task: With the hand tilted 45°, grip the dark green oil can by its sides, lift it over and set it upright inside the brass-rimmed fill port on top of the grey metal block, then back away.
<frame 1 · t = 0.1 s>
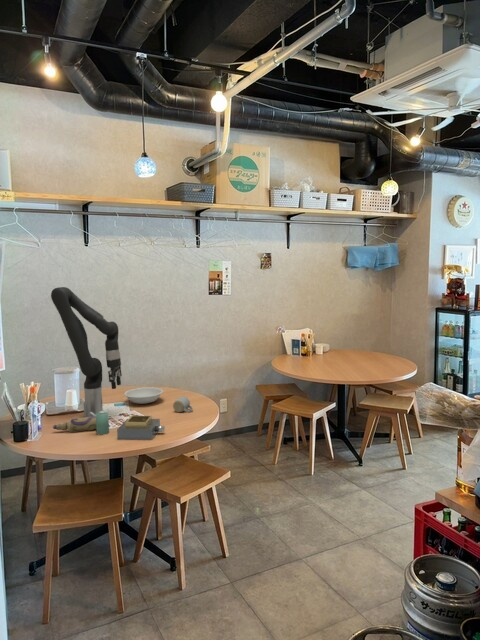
hand: (116, 386, 258), 17 cm above the table, tool pointing down, fingers open, 8 cm apart
ceramic mug: (183, 411, 269), on the table
decorative bottle: (81, 430, 240), on the table
oil can: (103, 432, 235), on the table
soup bowl: (144, 402, 289), on the table
grey metal block: (139, 433, 232), on the table
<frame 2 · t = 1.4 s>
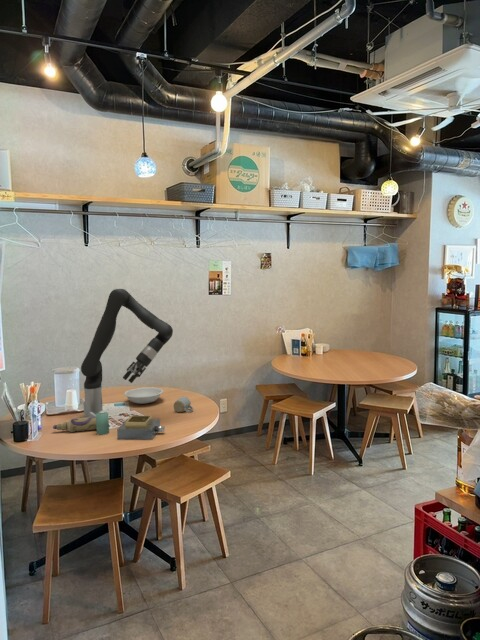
hand: (126, 380, 241), 25 cm above the table, tool tilted 45°, fingers open, 8 cm apart
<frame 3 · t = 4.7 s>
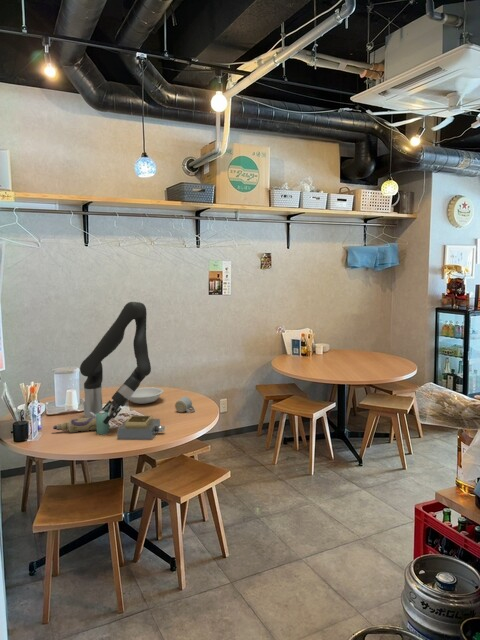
hand: (101, 421, 234), 6 cm above the table, tool tilted 45°, fingers open, 8 cm apart
decorative bottle: (82, 430, 240), on the table, touching gripper
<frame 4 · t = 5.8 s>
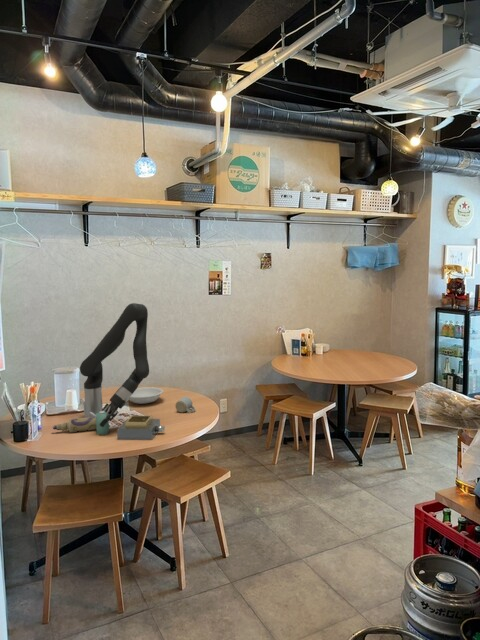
hand: (99, 424, 233), 5 cm above the table, tool tilted 45°, fingers closed on oil can, 6 cm apart
decorative bottle: (82, 430, 240), on the table
oil can: (103, 432, 235), on the table, touching gripper
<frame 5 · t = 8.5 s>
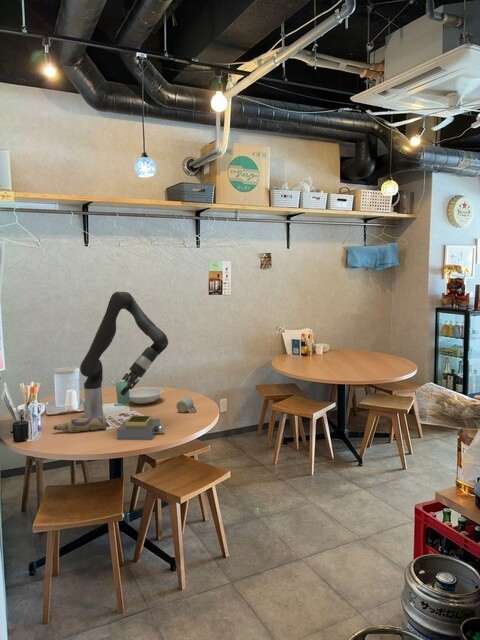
hand: (119, 393, 230), 21 cm above the table, tool tilted 45°, fingers closed on oil can, 6 cm apart
oil can: (123, 402, 231), point 16 cm above the table, touching gripper
when the fingers open (11 cm above the table, at t = 11.1 s): oil can drops 1 cm, resting on grey metal block.
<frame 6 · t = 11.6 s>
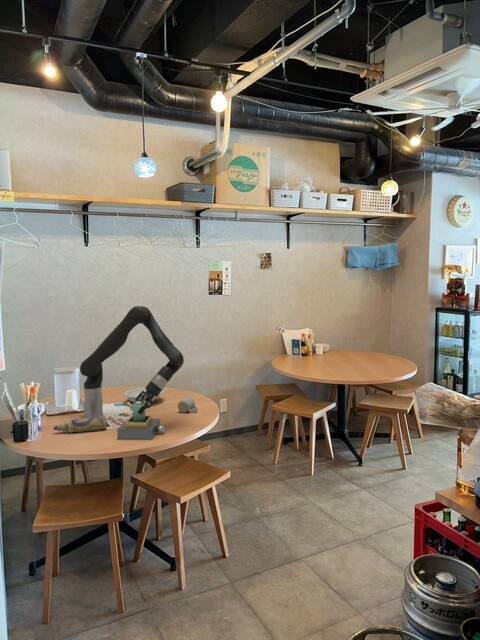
hand: (135, 411, 230), 12 cm above the table, tool tilted 45°, fingers open, 8 cm apart
oil can: (139, 423, 232), point 5 cm above the table, touching grey metal block
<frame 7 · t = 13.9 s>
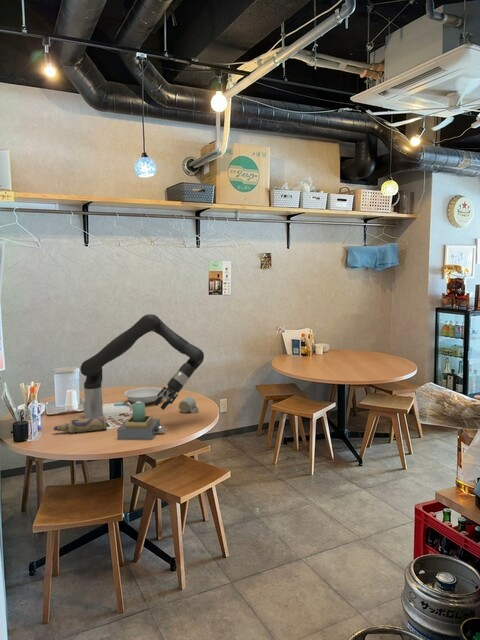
hand: (158, 406, 237), 12 cm above the table, tool tilted 45°, fingers open, 8 cm apart
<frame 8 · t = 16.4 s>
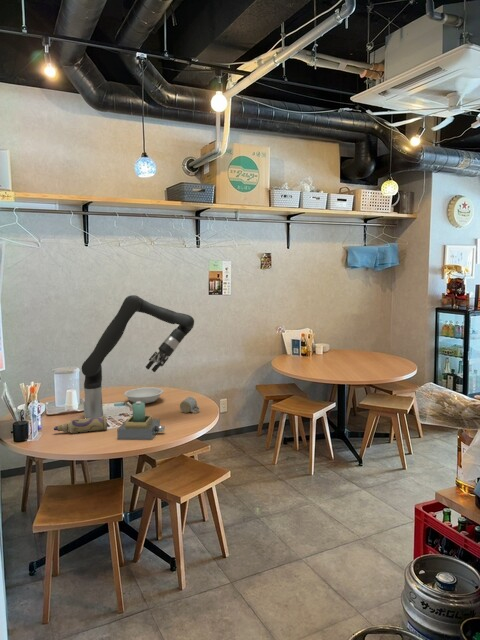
hand: (149, 369, 246), 29 cm above the table, tool tilted 45°, fingers open, 8 cm apart
at the end: oil can 0.1 cm off-centre on the grey metal block, point 5.1 cm above the grey metal block's base; oil can tilted 1°; the gripper is holding nothing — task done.
